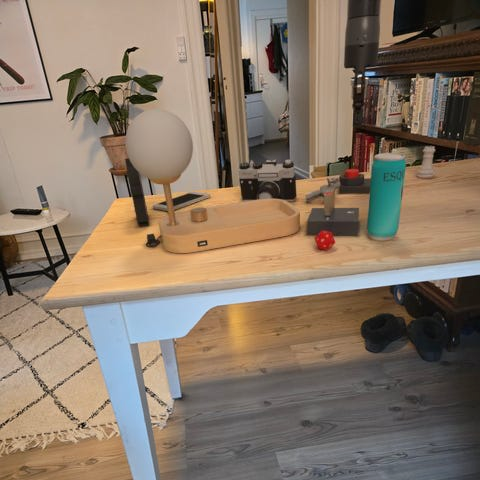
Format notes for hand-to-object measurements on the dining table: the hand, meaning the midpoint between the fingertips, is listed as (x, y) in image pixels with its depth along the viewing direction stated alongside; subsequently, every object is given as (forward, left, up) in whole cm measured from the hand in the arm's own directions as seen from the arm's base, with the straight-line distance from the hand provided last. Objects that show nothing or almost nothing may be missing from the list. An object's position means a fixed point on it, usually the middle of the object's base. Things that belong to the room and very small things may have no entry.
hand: (357, 126), depth 101 cm
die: (+4, +41, -16) cm, 44 cm away
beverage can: (-6, +35, -16) cm, 39 cm away
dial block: (+3, +30, -16) cm, 34 cm away
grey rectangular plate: (+4, +29, -13) cm, 32 cm away
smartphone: (+46, +10, -16) cm, 49 cm away
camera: (+22, +11, -16) cm, 29 cm away
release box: (-1, -2, -16) cm, 16 cm away
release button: (+1, -2, -13) cm, 13 cm away
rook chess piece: (-19, -14, -16) cm, 29 cm away
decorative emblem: (+50, +26, -16) cm, 58 cm away
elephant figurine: (+7, +11, -16) cm, 20 cm away
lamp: (+27, +34, -16) cm, 46 cm away
